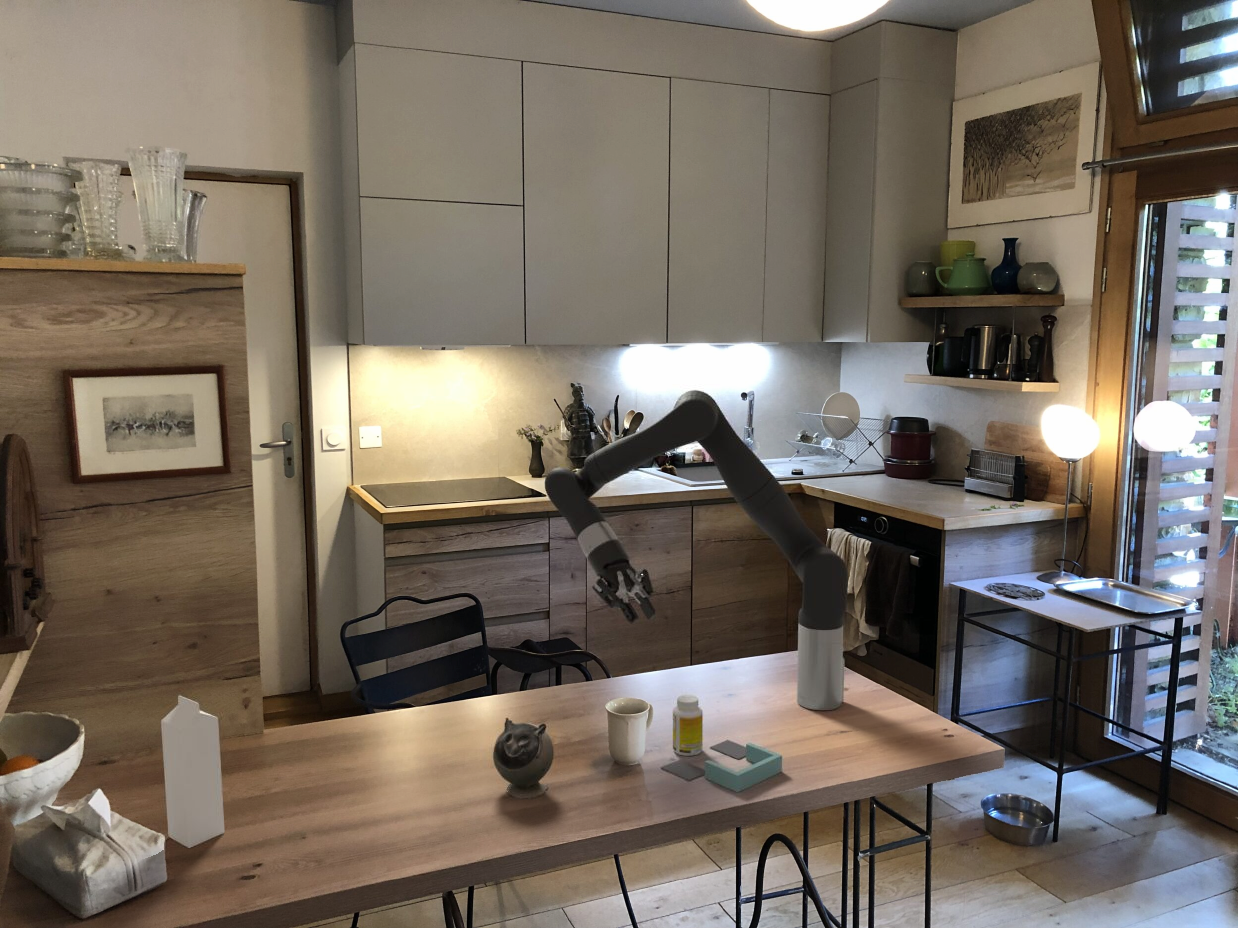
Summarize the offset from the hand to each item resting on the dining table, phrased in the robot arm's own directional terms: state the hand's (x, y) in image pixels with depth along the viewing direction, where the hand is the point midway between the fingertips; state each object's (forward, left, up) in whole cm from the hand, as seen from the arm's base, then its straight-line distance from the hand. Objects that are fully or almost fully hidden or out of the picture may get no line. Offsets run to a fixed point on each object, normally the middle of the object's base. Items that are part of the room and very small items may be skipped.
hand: (643, 618), depth 190 cm
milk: (+81, -16, -22) cm, 86 cm away
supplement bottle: (+2, +14, -22) cm, 26 cm away
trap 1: (+9, +20, -22) cm, 31 cm away
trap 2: (-4, +20, -22) cm, 30 cm away
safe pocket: (+2, +28, -22) cm, 35 cm away
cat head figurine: (+34, +6, -22) cm, 41 cm away
